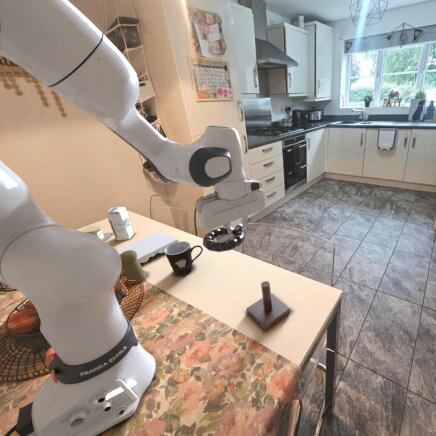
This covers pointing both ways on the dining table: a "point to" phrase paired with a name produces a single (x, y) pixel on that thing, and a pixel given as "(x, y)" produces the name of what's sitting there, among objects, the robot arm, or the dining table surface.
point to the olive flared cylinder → (132, 267)
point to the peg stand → (268, 308)
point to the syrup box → (120, 223)
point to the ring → (223, 246)
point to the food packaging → (149, 245)
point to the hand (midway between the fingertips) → (237, 231)
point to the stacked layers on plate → (96, 232)
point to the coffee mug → (181, 257)
